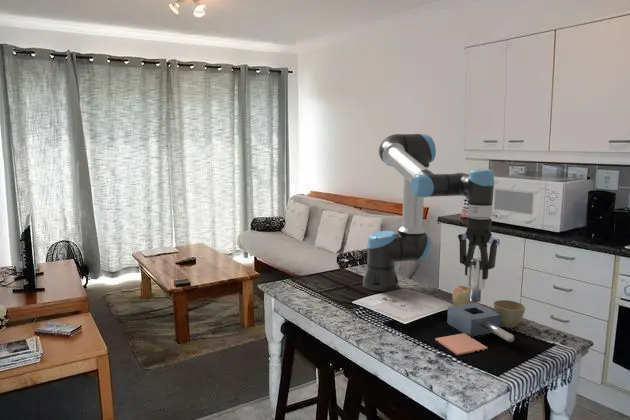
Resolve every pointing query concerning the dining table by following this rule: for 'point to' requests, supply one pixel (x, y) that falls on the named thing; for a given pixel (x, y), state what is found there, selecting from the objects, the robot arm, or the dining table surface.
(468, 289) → the apple
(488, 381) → the dining table surface
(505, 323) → the beige bowl
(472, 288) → the key
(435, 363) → the dining table surface
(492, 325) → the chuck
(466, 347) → the mat
